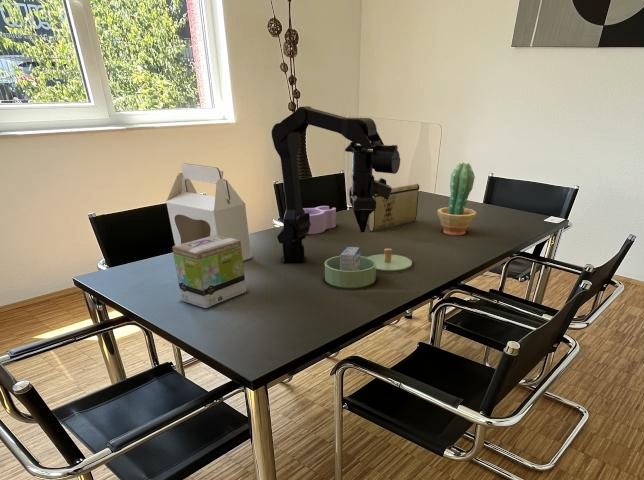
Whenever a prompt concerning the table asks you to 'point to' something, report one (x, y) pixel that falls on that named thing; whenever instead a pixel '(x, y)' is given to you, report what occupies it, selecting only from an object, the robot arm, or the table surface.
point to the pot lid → (390, 261)
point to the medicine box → (350, 259)
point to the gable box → (206, 209)
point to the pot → (350, 273)
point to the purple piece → (321, 219)
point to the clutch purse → (395, 207)
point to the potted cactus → (458, 201)
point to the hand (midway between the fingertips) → (361, 228)
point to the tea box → (209, 270)
